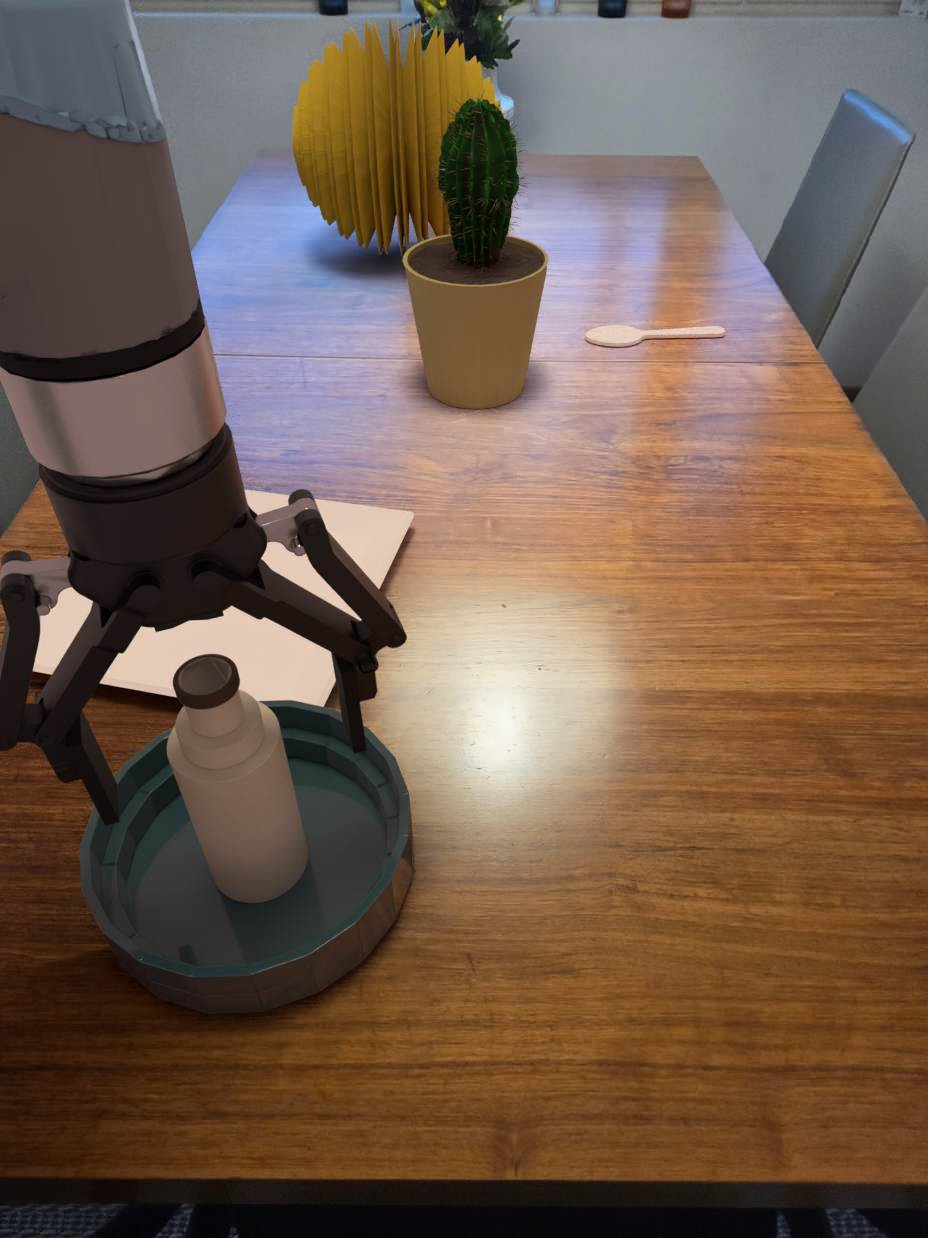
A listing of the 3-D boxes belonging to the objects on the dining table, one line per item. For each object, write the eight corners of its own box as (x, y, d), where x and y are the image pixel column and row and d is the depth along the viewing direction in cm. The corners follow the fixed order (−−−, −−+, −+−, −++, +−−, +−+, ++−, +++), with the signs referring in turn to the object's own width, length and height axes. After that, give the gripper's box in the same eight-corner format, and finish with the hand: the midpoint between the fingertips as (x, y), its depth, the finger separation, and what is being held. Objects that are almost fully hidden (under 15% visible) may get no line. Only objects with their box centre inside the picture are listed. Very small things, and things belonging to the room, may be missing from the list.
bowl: (114, 1069, 47) (86, 1030, 43) (97, 792, 60) (74, 745, 57) (454, 951, 51) (453, 907, 48) (368, 718, 65) (362, 671, 61)
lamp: (510, 287, 124) (517, 33, 103) (298, 293, 123) (262, 38, 102) (496, 216, 146) (499, -4, 125) (315, 221, 145) (289, -1, 125)
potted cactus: (397, 364, 106) (379, 80, 86) (517, 348, 109) (527, 70, 89) (426, 427, 95) (414, 118, 75) (559, 407, 98) (582, 105, 78)
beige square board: (319, 739, 63) (315, 720, 62) (1, 680, 68) (-9, 661, 66) (416, 528, 82) (415, 509, 81) (162, 493, 87) (157, 475, 85)
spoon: (730, 341, 110) (731, 337, 110) (589, 347, 109) (589, 343, 109) (718, 323, 114) (718, 319, 114) (581, 329, 113) (582, 325, 113)
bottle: (219, 916, 52) (148, 735, 41) (206, 836, 57) (138, 650, 45) (317, 885, 54) (275, 701, 42) (297, 809, 58) (254, 623, 47)
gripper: (406, 344, 40) (427, 666, 55) (-202, 451, 34) (1, 781, 49) (461, 422, 35) (468, 755, 49) (-245, 564, 29) (-3, 896, 43)
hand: (237, 769), depth 49 cm, fingers open, 13 cm apart
